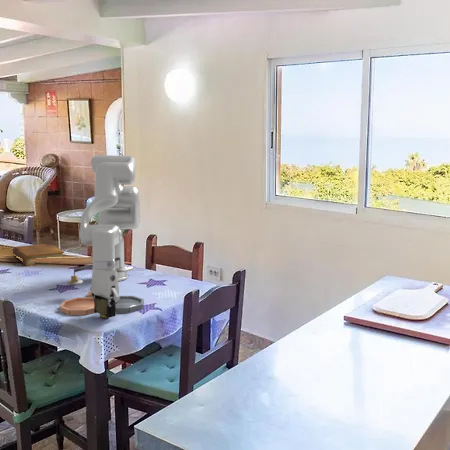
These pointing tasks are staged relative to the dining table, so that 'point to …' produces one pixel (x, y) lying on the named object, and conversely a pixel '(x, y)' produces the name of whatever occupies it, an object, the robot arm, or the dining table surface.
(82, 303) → the dish terracotta
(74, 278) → the balance
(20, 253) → the diary
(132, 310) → the dish slate
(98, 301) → the cup
